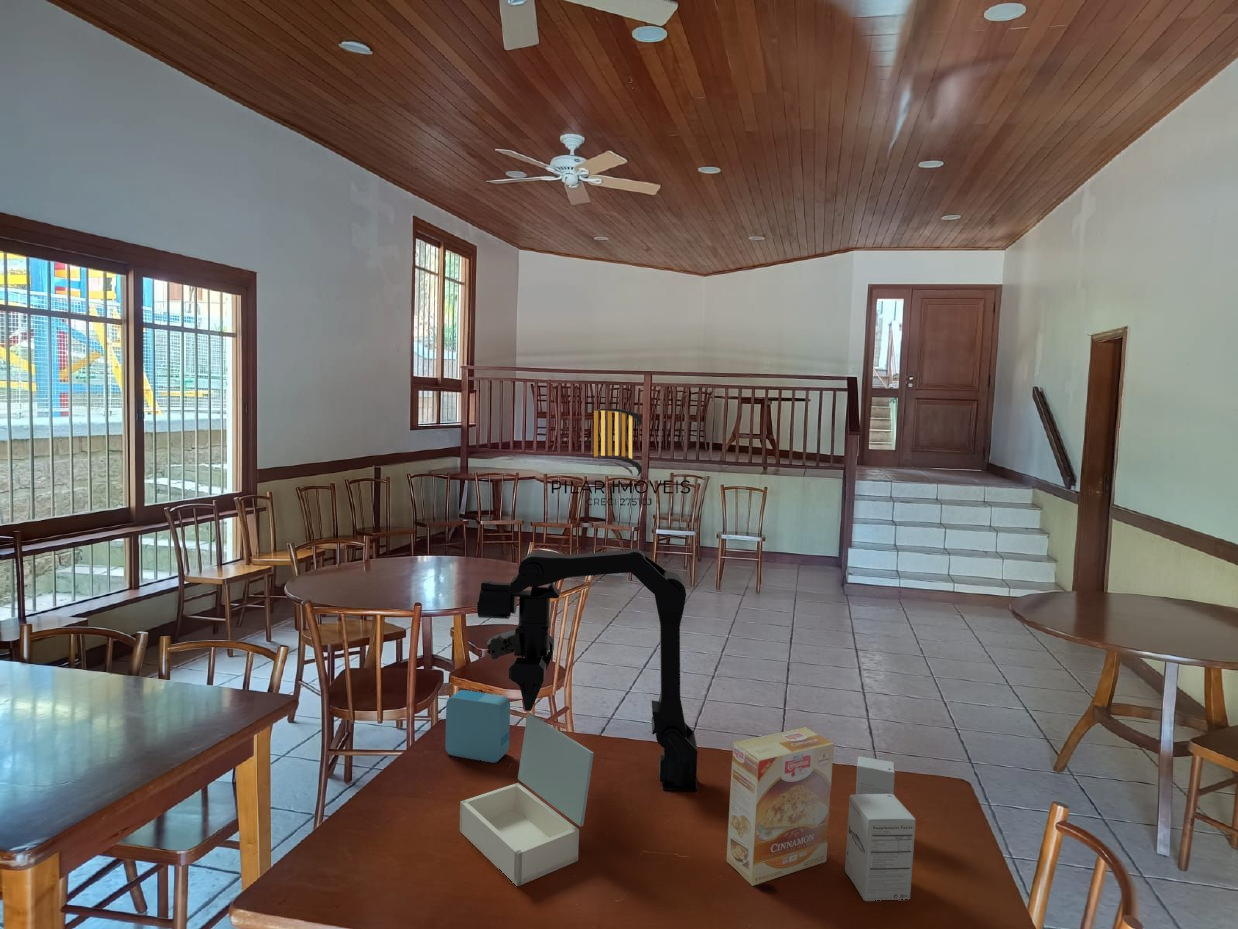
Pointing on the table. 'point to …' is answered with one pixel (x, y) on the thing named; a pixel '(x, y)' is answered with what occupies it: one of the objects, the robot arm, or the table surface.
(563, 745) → the box lid
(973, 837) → the table surface
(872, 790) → the skincare box
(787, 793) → the coffeecake box
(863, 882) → the supplement box
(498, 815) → the cream box
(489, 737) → the blue rounded square block
